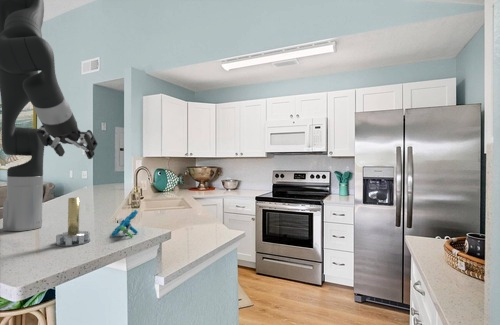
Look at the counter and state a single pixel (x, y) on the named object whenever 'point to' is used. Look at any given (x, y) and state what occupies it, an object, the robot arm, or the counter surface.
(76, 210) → the gear
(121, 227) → the blue splat disc
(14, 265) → the counter surface
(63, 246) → the pad
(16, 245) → the counter surface
